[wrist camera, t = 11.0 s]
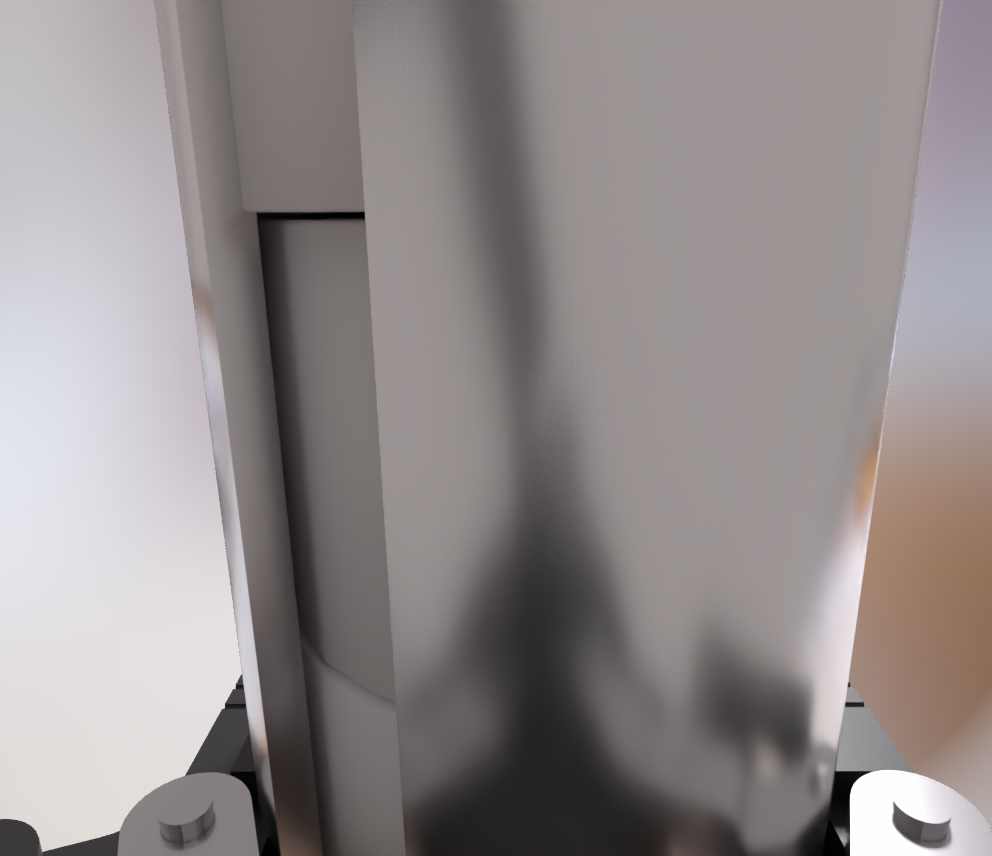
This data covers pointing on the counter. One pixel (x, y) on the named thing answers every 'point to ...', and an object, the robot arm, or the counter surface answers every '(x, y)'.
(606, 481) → the silver metal canister
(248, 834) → the robot arm
